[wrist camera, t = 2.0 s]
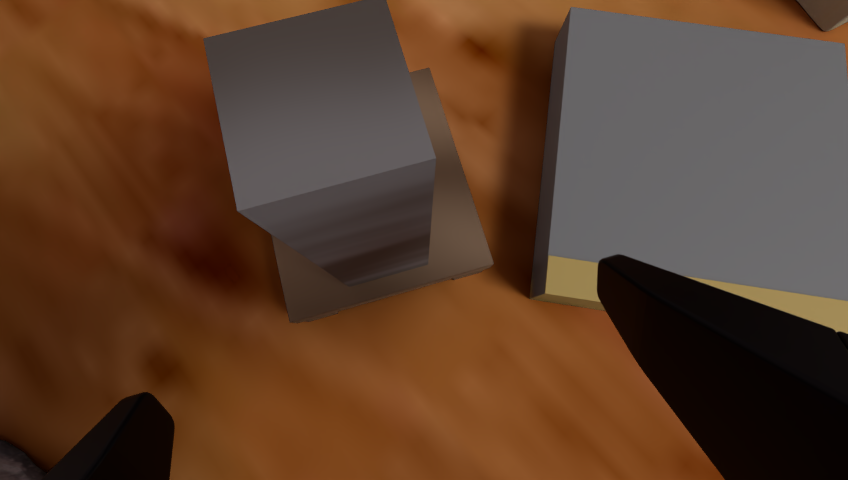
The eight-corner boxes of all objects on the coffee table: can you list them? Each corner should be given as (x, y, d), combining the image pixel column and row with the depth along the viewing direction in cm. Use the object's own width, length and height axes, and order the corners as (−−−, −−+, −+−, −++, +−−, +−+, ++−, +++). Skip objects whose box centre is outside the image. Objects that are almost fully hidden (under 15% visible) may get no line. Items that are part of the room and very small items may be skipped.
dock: (811, 342, 19) (871, 344, 17) (529, 298, 20) (545, 293, 17) (798, 75, 22) (846, 42, 20) (554, 42, 23) (571, 5, 20)
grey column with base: (487, 270, 20) (599, 156, 7) (302, 323, 19) (76, 299, 7) (428, 90, 22) (436, -240, 9) (260, 133, 22) (29, -157, 9)
